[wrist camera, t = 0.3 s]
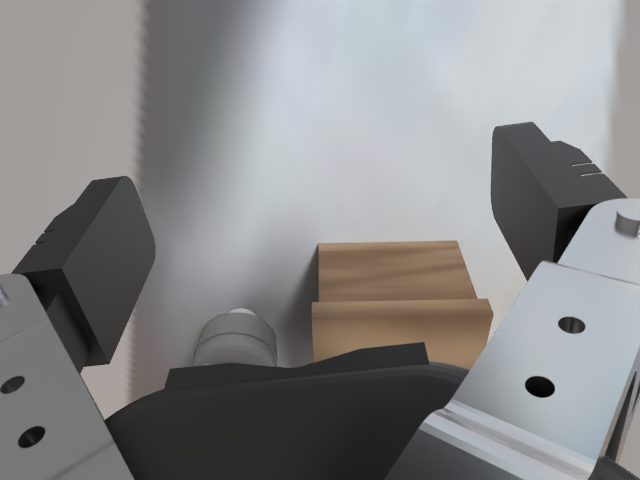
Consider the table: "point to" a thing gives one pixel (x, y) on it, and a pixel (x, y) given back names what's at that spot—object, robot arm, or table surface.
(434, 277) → the box
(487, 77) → the table surface
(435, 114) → the table surface
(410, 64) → the table surface
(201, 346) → the light bulb
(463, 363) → the lid
